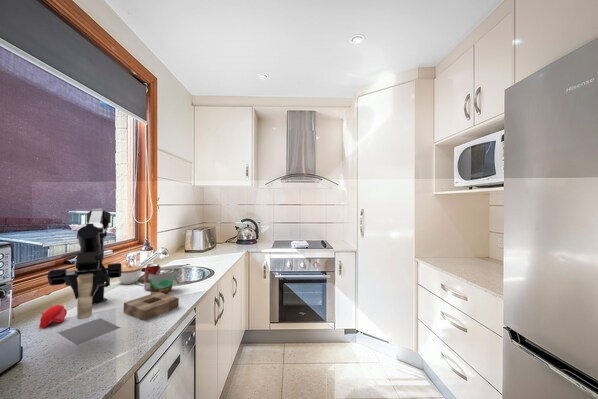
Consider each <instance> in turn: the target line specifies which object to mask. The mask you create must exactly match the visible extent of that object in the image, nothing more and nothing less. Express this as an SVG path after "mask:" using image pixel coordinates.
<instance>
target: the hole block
mask: <svg viewBox="0 0 598 399" xmlns="http://www.w3.org/2000/svg"><path fill="white" fill-rule="evenodd" d="M179 301H180V300H179V297H177V296H174V295H170V294H164V293H161V292H156V293H153V294H151V293H149V294H147V295H144V296H140V297H137V298H134V299H131V300H129V301H125V302H123V310H122V311H123V313H124V314H127V315H129V316H132V317H135V318H137V319H139V320H142V321H147V320H149V319H152V318H155V317H159V316H162V315H163V314H166V313H168V312H170V311H174V310H176V309H178V308H179V305H180V304H179ZM177 307H178V308H177ZM175 308H176V309H175ZM173 309H174V310H173Z"/></svg>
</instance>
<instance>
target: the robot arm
mask: <svg viewBox="0 0 598 399" xmlns="http://www.w3.org/2000/svg"><path fill="white" fill-rule="evenodd" d="M111 220H112V215H111V213H110V212H109V211H106V209H104V208H92V209H89V212H87V213H86V220H85V221H86V223H85V224H83V225H82V227H81V228H79V229H78V230H77V234H76V238H77V240H78V245H79V246H80V250H79V252H77V253H76V264H75V270H74V269H73V270H67V269H66V267H65V268H64V267H63V268H62V267H61V268H55V269H50V270H49V271H48V273H47V275H46V276H47V277H46V278H47V280H48V283H49V284H48V285H49V286H52V287H53V286H60V285H64V284H65V286H66V287H68V286H69V287H70V288H71V290H73V295H74V297H75V300H78V276H79V275H81V274H87V273H92V274H93V289H92V306H93V305H96V304H100V303H103V302H106V301H108V298H106V297H105V288H108V287H109V286H110V285H111V280H110V279H116V278H117V279H118V277H121V267H122V263H121V262H114V263H107V267H105V266H104V265H103V262H104V256H105V250H104V244H105V243H104V241H105V239H106V237H107V236H108V231H107V230H108V229H109V226H110V225H109V224H111V222H112V221H111Z"/></svg>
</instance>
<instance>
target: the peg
mask: <svg viewBox="0 0 598 399" xmlns="http://www.w3.org/2000/svg"><path fill="white" fill-rule="evenodd" d="M77 281H78V298H77V312H76V316H77V317H76V319H77V320H84V319H85V320H86V319H89V318H90V317H92V316H93V305H92V289H93V274H92V273H87V274H81V275H79V276H78V277H77Z"/></svg>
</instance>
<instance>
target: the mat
mask: <svg viewBox="0 0 598 399" xmlns="http://www.w3.org/2000/svg"><path fill="white" fill-rule="evenodd" d="M120 328H121V327H120V326H119V325H116V324H114V323H112V322H109V321H108V320H105V319H103V318H102V317H99V318H96V319H93V320H90V321H87V322H85V323H82V324H81V323H80V324H78V325H75V326H73V327H70V328H67V329H64V330H60V331H59V332H57V334H59V335H60V336H62V337H64V338H65V339H67V340H68V341H70V342H71V343H73V344H74V345H76V346H79V345H81V344H84V343H86V342H88V341H90V340H94V339H96V338H98V337H101V336H104V335H105V334H108V333H111V332H113V331H116V330H119V329H120Z"/></svg>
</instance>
